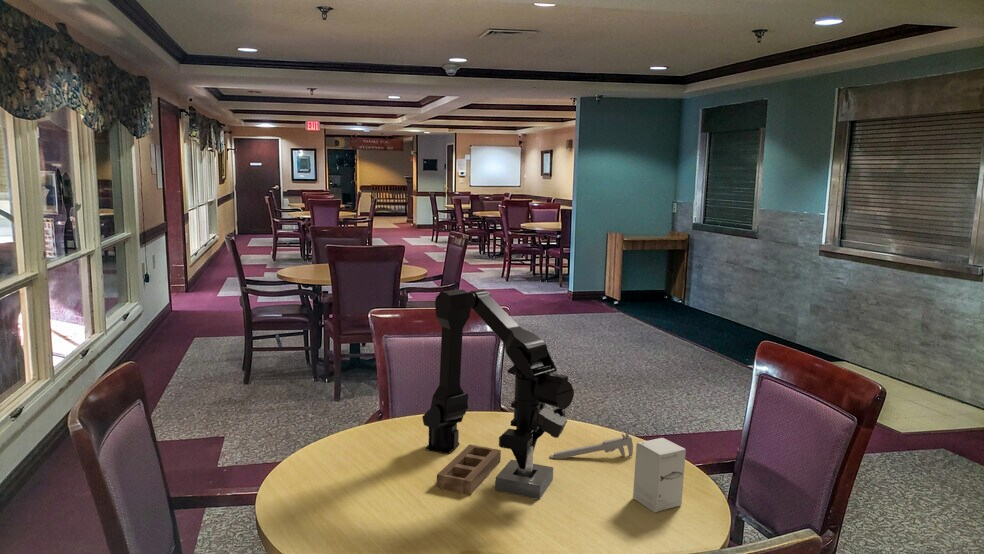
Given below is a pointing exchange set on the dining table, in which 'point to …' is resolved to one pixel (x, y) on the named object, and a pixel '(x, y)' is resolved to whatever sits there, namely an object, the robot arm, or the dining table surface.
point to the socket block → (524, 480)
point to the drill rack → (468, 469)
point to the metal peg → (527, 466)
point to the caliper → (599, 448)
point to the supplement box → (659, 474)
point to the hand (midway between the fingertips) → (525, 465)
